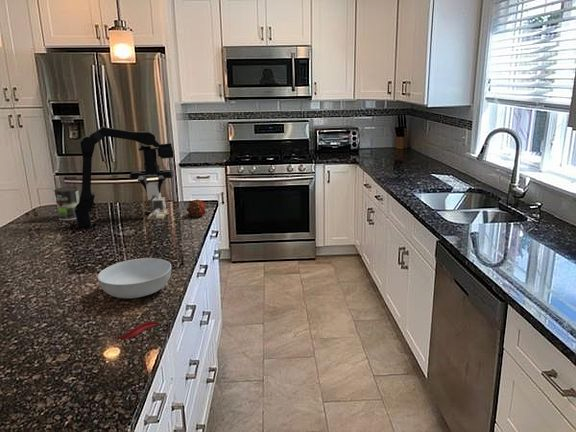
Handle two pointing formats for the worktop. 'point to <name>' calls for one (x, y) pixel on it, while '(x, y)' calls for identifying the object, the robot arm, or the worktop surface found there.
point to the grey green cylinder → (67, 202)
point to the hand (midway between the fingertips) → (153, 193)
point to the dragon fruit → (197, 208)
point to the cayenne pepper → (138, 330)
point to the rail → (160, 217)
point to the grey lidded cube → (153, 190)
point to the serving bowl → (135, 277)
